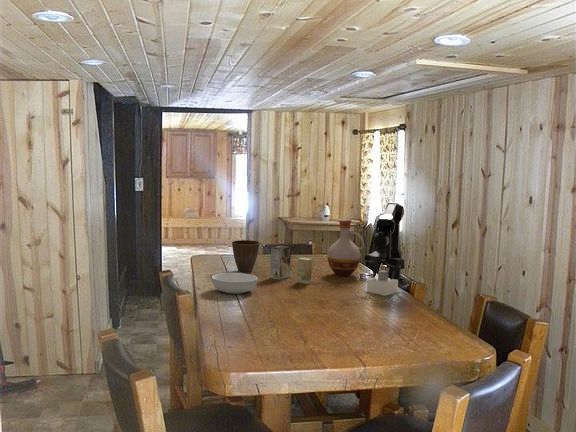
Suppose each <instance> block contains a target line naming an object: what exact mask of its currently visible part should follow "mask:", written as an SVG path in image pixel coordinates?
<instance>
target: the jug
mask: <svg viewBox="0 0 576 432" xmlns="http://www.w3.org/2000/svg"><path fill="white" fill-rule="evenodd" d="M338 223H339V224H338V228H339V231H340V232H339V235H340V236H339V238H338V239H337V240H336V241H335V242H334V243H333V244H331V246H330V247H329V248H328V250H327V252H326V257H327V262H328V265H329V268H330V269H331V271H332V272H333V274H334V275H335V276H337V277H341V278H343V277H351V276H352V275H353V274H354V272H355V271H356V270H357V269H358V267H359V264H360V261H361V256H362V255H361V251H363V250H364V248H365V240H364V238H363V236H362V235H361V234H359V233H358V232H356V231H350V230H351V228H352V225H351V223H352V219H339V220H338ZM353 235H355V236H356V237H358V239H360V242H361V246H360V247H358V246H357V245H356V244H355V243H354V242H353V241H352V240H351V236H353Z"/></svg>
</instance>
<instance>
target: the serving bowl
mask: <svg viewBox="0 0 576 432" xmlns="http://www.w3.org/2000/svg"><path fill="white" fill-rule="evenodd" d="M258 279H259V278H258V277H257V276H256V275H254V274H249V273H242V272H222V273H221V272H220V273H216V274H213V275H212V276H211V283H212V284H213V286H214V288H215V289H217V290H218V291H220V292H223V293H226V294H230V295H231V294H232V295H239V294H243V293H246V292H247V293H248V292H250V291H252V290H253V289H255V287H256V286H257V284H258Z"/></svg>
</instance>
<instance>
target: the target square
mask: <svg viewBox="0 0 576 432" xmlns="http://www.w3.org/2000/svg"><path fill="white" fill-rule="evenodd" d="M364 293H366V294H372V295H376V296H381V297H384V298H387V297H390V296H393V295H397V294H401V292H400V291H398V293H394V294H390V295H386V296H384V295H380V294H375V293H371V292H367V290H364Z"/></svg>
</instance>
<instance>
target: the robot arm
mask: <svg viewBox="0 0 576 432" xmlns="http://www.w3.org/2000/svg"><path fill="white" fill-rule="evenodd" d="M404 215H405V207H404V206H403V205H402V204H400V203H399V202H395V201H394V202H392V201H389V202H387V205H386V207H385V211H384V214H383V215H380V216H379V218H378V219H377V220H376V225H375V231H374V233H375V234H377V235H376V236H375V237H374V240H373V242H374V245H375V246H376V248H375V251H372V253H367V254H365V255H364V257H363V258H364V259H363V260H364V261H366V263H368V265H369V266H370V268H371V271H372V275H373V277H377V274H378V273H377V272H378V266H379V263H381V262H384V263H386V265H385V267H386V268H388V278H390V280H392V279H395V280H398V281H401V280H400V276H401V277H402V275H401V273H402V272H401V271H402V270H403V269H405V267H406V265H405V264H406V263H405V258H404V257H403V252H402V250H401V249H400V234H401V232H400V228H401V227H400V223H401V221H402V220H403V217H404Z"/></svg>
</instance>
